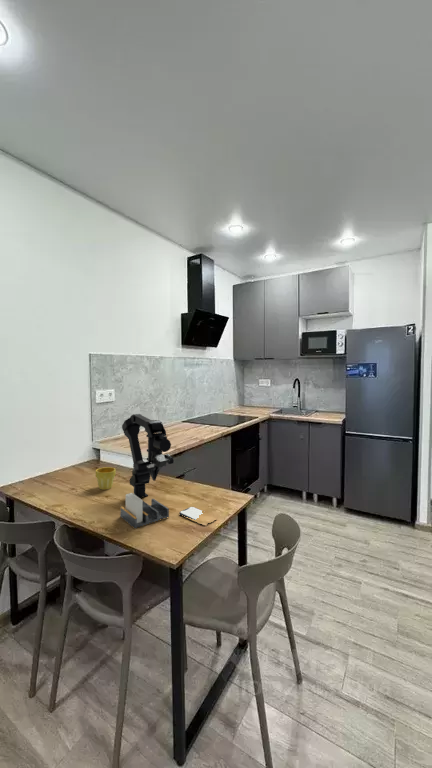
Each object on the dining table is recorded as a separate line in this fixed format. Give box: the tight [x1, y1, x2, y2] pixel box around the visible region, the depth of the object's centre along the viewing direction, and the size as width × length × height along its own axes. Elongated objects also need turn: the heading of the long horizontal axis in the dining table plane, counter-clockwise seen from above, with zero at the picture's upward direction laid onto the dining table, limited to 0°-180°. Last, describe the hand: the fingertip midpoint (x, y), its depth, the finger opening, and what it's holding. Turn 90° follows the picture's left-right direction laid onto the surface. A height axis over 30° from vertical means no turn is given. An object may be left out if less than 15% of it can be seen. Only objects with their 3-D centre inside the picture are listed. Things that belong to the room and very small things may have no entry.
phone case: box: [178, 506, 203, 520], centre depth 139 cm, size 9×2×16 cm
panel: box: [125, 492, 144, 523], centre depth 135 cm, size 10×3×9 cm, turn 39°
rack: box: [119, 498, 170, 529], centre depth 139 cm, size 14×16×4 cm
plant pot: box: [95, 466, 117, 491], centre depth 173 cm, size 10×10×10 cm
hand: (154, 480), depth 150 cm, fingers closed
